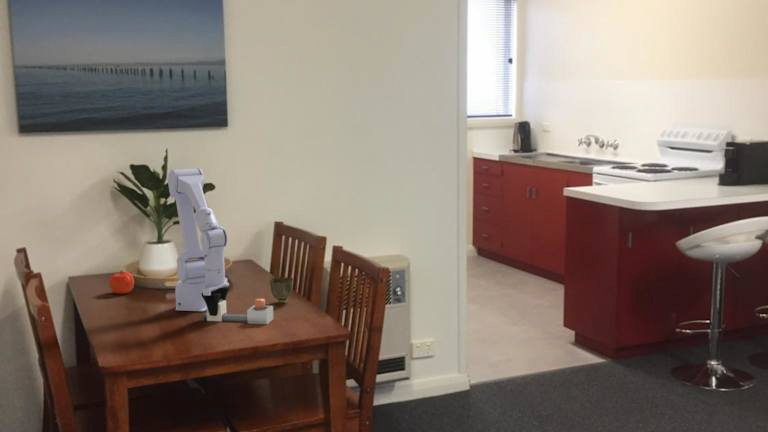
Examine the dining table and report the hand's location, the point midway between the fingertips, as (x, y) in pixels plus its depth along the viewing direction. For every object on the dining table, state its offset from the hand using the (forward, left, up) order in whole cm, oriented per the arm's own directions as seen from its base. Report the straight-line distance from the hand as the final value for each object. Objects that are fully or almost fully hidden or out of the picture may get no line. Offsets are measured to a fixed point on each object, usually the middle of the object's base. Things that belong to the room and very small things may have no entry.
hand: (216, 313), depth 241 cm
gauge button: (+14, 0, +2) cm, 14 cm away
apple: (-44, +26, -2) cm, 51 cm away
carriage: (0, 0, -2) cm, 2 cm away
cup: (+14, +21, -2) cm, 25 cm away
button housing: (+14, 0, -2) cm, 14 cm away
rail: (+3, 0, -2) cm, 4 cm away
